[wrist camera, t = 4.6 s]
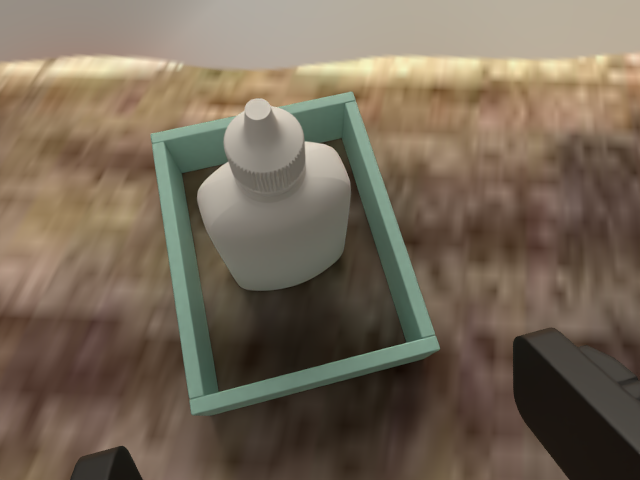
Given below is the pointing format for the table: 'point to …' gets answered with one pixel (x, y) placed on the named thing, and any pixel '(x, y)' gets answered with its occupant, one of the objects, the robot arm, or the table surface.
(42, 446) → the table surface
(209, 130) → the green rectangular frame
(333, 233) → the eye dropper bottle
